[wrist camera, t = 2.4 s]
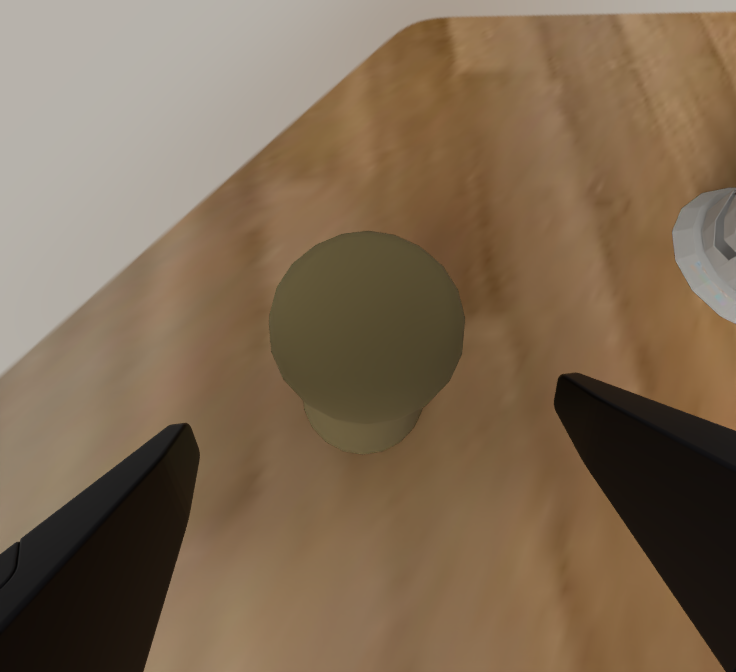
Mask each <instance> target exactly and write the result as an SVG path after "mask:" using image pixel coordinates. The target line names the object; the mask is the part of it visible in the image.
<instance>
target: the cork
mask: <svg viewBox="0 0 736 672" xmlns="http://www.w3.org/2000/svg"><path fill="white" fill-rule="evenodd" d="M464 324H465V316H464V312H463V308H462V304H461V300H460V296H459V292H458V289H457V288H456V286H455V284H454V283H453V281H452V280H451V278H450V276H449V275H448V273H447V272H446V270H445V269H444V267H443V266H442V265H441V264H440V263H439V262H438V261H436V260H435V259H434V258H433V257H432V256H431V255H429V254H428V253H427V252H426V251H425V250H424V249H422V248H421V247H420V246H418V245H416V244H414V243H412V242H409V241H407V240H405V239H403V238H400V237H398V236H396V235H392V234H386V233H379V232H373V231H363V232H354V233H346V234H341V235H338V236H336V237H334V238H331V239H329V240H326V241H324V242H322V243H319V244H317V245H315V246H314V247H312V248H311V249H310V250H309V251H307V252H306V253H305V254H304V255H303V256H301V257H300V258H299V259H298V260H296V261H295V262H294V263H293V264H292V265H291V267H290V268H289V270H288V271H287V273H286V274H285V276H284V277H283V279H282V280H281V282H280V283H279V285H278V286H277V288H276V292H275V296H274V300H273V303H272V307H271V311H270V315H269V329H270V342H271V352H272V354H273V357H274V359H275V361H276V364H277V366H278V368H279V370H280V373H281V375H282V377H283V379H284V380H285V381H286V383H287V384H288V385H289V386H290V387H291V388H292V389H293V390H294V391H295V392H296V393H297V394H298V395H299V396H300V397H301V399H302V400H303V401H304V410H305V412H306V414H307V417H308V419H309V421H310V423H311V425H312V427H313V429H314V430H315V431H316V432H317V433H318V434H319V435H320V436H321V437H322V438H323V439H324V440H325V442H327V443H329V444H331V445H333V446H335V447H336V448H338V449H340V450H342V451H345V452H351V453H357V454H369V453H376V452H382V451H384V450H386V449H388V448H390V447H392V446H394V445H396V444H398V443H399V442H401V441H402V440H403V439H404V438H405V436H406V435H407V434H408V433H409V432H410V431H411V430H412V429H413V428H414V426H415V424H416V422H417V420H418V417H419V415H420V413H421V411H422V407H424V406H425V405H427V404H428V403H429V402H430V401H431V400H432V399H433V398H434V397H435V396H436V395H437V393H438V392H439V391H440V390H441V389H442V388H443V387H444V386H445V385H446V384H447V383H448V382H449V381H450V379H451V377H452V374H453V372H454V370H455V368H456V366H457V363H458V361H459V359H460V357H461V355H462V347H463V336H464Z"/></svg>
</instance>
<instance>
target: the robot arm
mask: <svg viewBox="0 0 736 672" xmlns="http://www.w3.org/2000/svg"><path fill="white" fill-rule="evenodd" d="M554 407H555V410H556V413H557V414H558V416H559V418H560V420H561V422H562V424H563V426H564V427H565V429H566V431H567V433H568V435H569V437H570V439H571V440H572V442H573V444H574V446H575V448H576V450H577V452H578V453H579V455H580V457H581V459H582V460H583V462H584V464H585V465H586V467H587V468H588V470H589V472H590V473H591V475H592V476H593V477H594V479H595V480H596V482H597V483H598V485H599V486H600V488H601V489H602V491H603V492H604V494H605V495H606V497H607V498H608V499H609V501H610V502H611V504H612V505H613V507H614V508H615V510H616V511H617V513H618V514H619V516H620V517H621V519H622V520H623V522H624V523H625V524H626V526H627V527H628V529H629V530H630V532H631V533H632V535H633V536H634V538H635V539H636V541H637V542H638V544H639V545H640V546H641V548H642V549H643V551H644V552H645V554H646V555H647V557H648V558H649V560H650V561H651V563H652V564H653V566H654V567H655V568H656V570H657V571H658V573H659V574H660V576H661V577H662V579H663V580H664V582H665V583H666V585H667V586H668V588H669V589H670V591H671V592H672V593H673V595H674V596H675V598H676V599H677V601H678V602H679V604H680V605H681V607H682V608H683V610H684V611H685V613H686V614H687V615H688V617H689V618H690V620H691V621H692V623H693V624H694V626H695V627H696V629H697V630H698V632H699V633H700V635H701V636H702V638H703V639H704V640H705V642H706V643H707V645H708V646H709V648H710V649H711V651H712V652H713V654H714V655H715V657H716V658H717V660H718V661H719V662H720V664H721V665H722V667H723V668H724V670H725V671H726V672H736V431H734V430H732V429H729V428H726V427H724V426H721V425H718V424H715V423H713V422H710V421H707V420H705V419H702V418H699V417H696V416H694V415H691V414H688V413H686V412H683V411H680V410H678V409H675V408H672V407H669V406H667V405H664V404H661V403H659V402H656V401H653V400H650V399H648V398H645V397H642V396H640V395H637V394H634V393H631V392H629V391H626V390H623V389H621V388H618V387H615V386H612V385H610V384H607V383H604V382H602V381H599V380H596V379H594V378H591V377H588V376H585V375H583V374H580V373H568V374H562V375H560V376H559V378H558V381H557V386H556V392H555V398H554ZM199 459H200V452H199V448H198V445H197V442H196V440H195V437H194V434H193V431H192V428H191V426H190V425H189V424H187V423H180V424H173V425H169V426H167V427H166V428H165V429H164V430H162V431H161V432H160V433H158V434H157V435H156V436H154V437H153V438H152V439H150V440H149V441H148V442H147V443H145V444H144V445H143V446H141V447H140V448H139V449H137V450H136V451H135V452H133V453H132V454H131V455H130V456H128V457H127V458H126V459H124V460H123V461H122V462H120V463H119V464H118V465H116V466H115V467H114V468H113V469H111V470H110V471H109V472H107V473H106V474H105V475H103V476H102V477H101V478H99V479H98V480H97V481H96V482H94V483H93V484H92V485H90V486H89V487H88V488H86V489H85V490H84V491H82V492H81V493H80V494H79V495H77V496H76V497H75V498H73V499H72V500H71V501H69V502H68V503H67V504H65V505H64V506H63V507H61V508H60V509H59V510H58V511H56V512H55V513H54V514H52V515H51V516H50V517H48V518H47V519H46V520H44V521H43V522H42V523H41V524H39V525H38V526H37V527H35V528H34V529H33V530H31V531H30V532H29V533H27V534H26V535H25V536H24V537H22V538H21V540H20V542H16V543H14V544H13V545H12V546H10V547H9V548H8V549H6V550H5V551H4V552H3V553H1V554H0V672H143V671H144V668H145V665H146V661H147V658H148V655H149V651H150V648H151V644H152V641H153V638H154V634H155V631H156V628H157V624H158V621H159V618H160V614H161V611H162V608H163V604H164V601H165V598H166V594H167V591H168V588H169V584H170V581H171V578H172V574H173V571H174V568H175V564H176V561H177V558H178V554H179V551H180V547H181V544H182V541H183V537H184V534H185V531H186V527H187V523H188V520H189V515H190V510H191V504H192V499H193V493H194V488H195V482H196V476H197V471H198V465H199Z"/></svg>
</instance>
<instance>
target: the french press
mask: <svg viewBox="0 0 736 672" xmlns="http://www.w3.org/2000/svg"><path fill="white" fill-rule="evenodd" d="M672 235H673V244H674V252H675V260H676V262H677V264H678V266H679V268H680V269H681V271H682V273H683V275H684V277H685V278H686V280H687V282H688V284H689V286H690V287H691V289H692V290H693V291H694V292H695V293H696V294H697V295H698V296H699V297H700V298H701V299H702V300H703V301H704V302H705V303H707V304H708V305H709V306H710V307H711V308H712V309H713V310H714V311H715V312H716V313H717V314H718V315H719V316H721V317H723V318H725V319H727V320H729V321H731V322H733V323H735V324H736V188H725V189H720V190H715V191H710V192H706V193H701V194H700V195H699V196H697V197H696V198H695V199H694V200H692V201H691V202H690V203H688V204H687V205H686V206H684V207H683V208H682V209H681V211H680V214H679V216H678V219H677V221H676V224H675V226H674V228H673V231H672Z"/></svg>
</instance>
